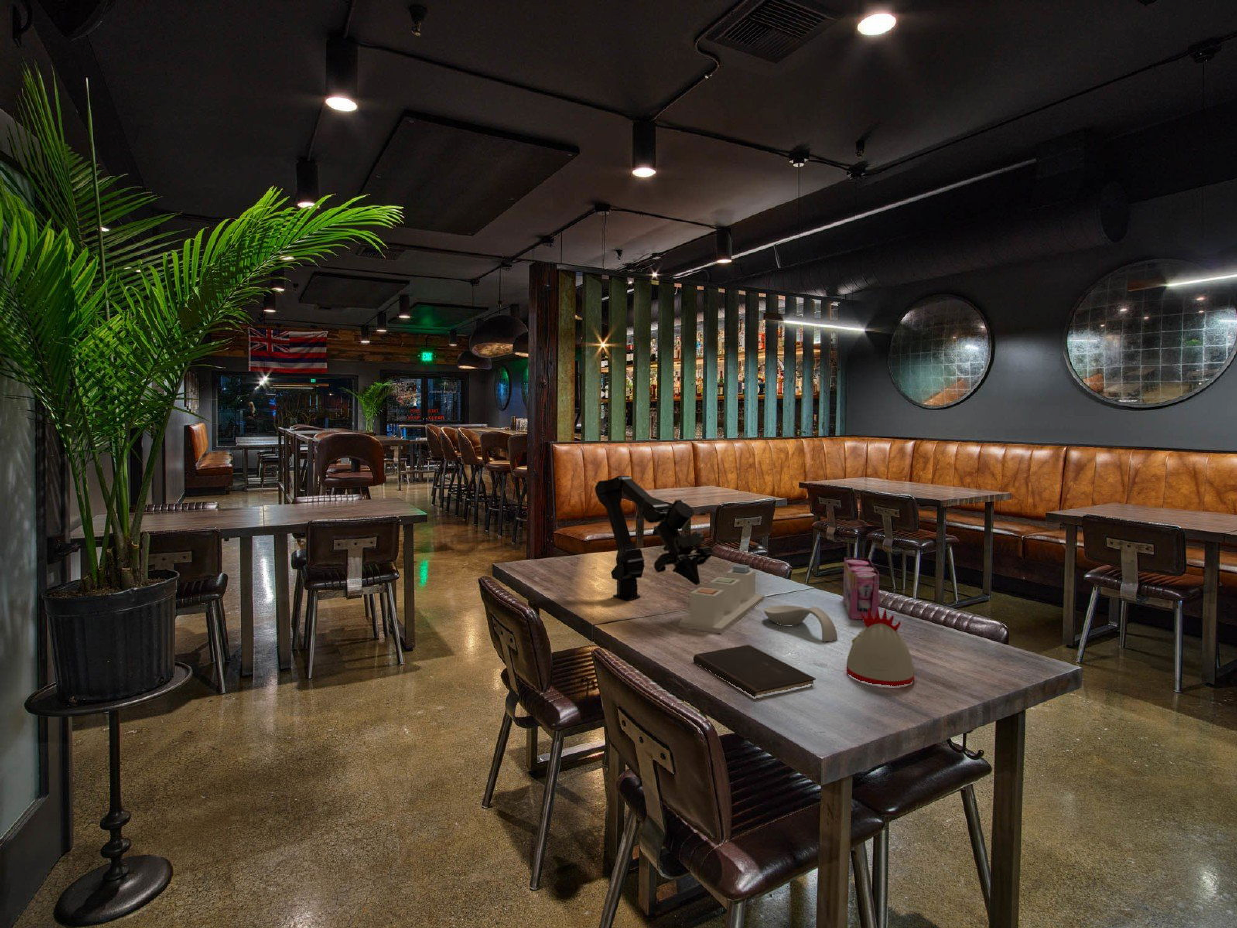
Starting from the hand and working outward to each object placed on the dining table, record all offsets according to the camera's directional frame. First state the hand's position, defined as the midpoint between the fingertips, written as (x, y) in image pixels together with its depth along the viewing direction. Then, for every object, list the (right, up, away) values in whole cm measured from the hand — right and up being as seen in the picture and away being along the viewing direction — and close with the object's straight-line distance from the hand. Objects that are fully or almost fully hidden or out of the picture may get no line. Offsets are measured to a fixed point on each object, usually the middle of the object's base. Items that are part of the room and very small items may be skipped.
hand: (698, 584), depth 179 cm
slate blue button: (+16, -2, +22) cm, 27 cm away
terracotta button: (+2, -5, -3) cm, 6 cm away
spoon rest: (+27, -12, -4) cm, 30 cm away
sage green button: (+9, -5, +10) cm, 14 cm away
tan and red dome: (+35, -13, -37) cm, 53 cm away
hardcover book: (+7, -14, -36) cm, 39 cm away
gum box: (+50, -10, +14) cm, 53 cm away
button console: (+9, -10, +10) cm, 17 cm away
